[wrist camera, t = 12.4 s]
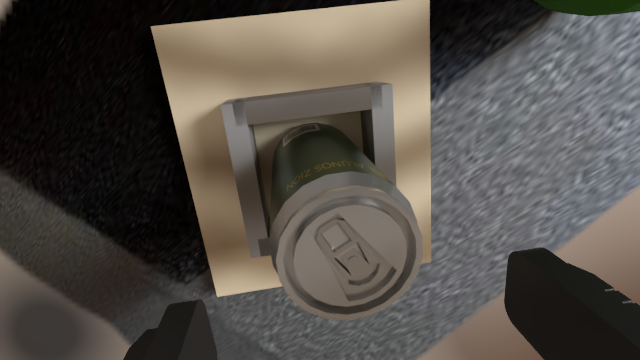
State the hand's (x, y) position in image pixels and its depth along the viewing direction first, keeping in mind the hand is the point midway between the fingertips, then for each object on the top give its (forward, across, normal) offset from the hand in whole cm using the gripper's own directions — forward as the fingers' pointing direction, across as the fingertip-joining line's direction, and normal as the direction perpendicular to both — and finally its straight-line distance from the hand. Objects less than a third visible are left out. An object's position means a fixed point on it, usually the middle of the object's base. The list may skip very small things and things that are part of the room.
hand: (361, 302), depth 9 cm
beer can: (+15, 0, 0) cm, 15 cm away
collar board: (+16, 0, 0) cm, 16 cm away
